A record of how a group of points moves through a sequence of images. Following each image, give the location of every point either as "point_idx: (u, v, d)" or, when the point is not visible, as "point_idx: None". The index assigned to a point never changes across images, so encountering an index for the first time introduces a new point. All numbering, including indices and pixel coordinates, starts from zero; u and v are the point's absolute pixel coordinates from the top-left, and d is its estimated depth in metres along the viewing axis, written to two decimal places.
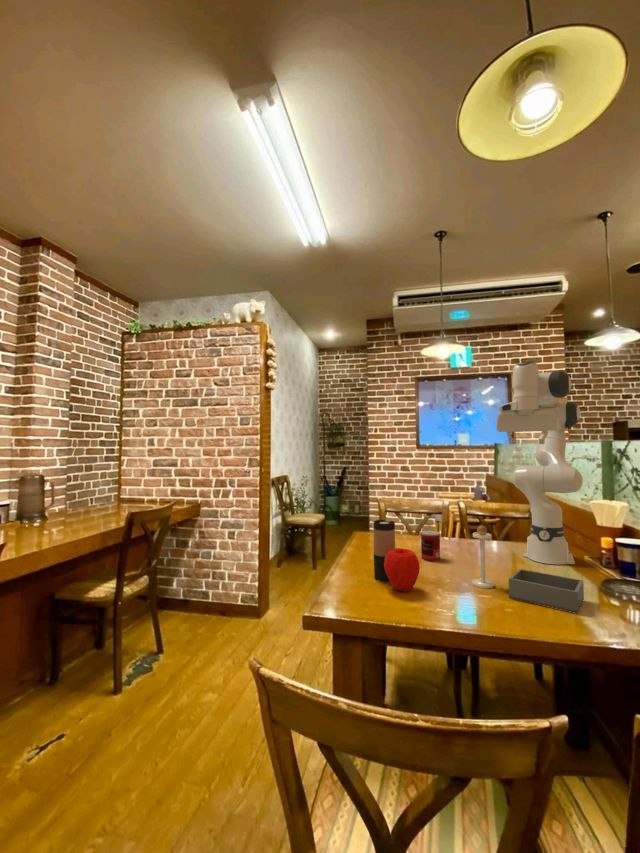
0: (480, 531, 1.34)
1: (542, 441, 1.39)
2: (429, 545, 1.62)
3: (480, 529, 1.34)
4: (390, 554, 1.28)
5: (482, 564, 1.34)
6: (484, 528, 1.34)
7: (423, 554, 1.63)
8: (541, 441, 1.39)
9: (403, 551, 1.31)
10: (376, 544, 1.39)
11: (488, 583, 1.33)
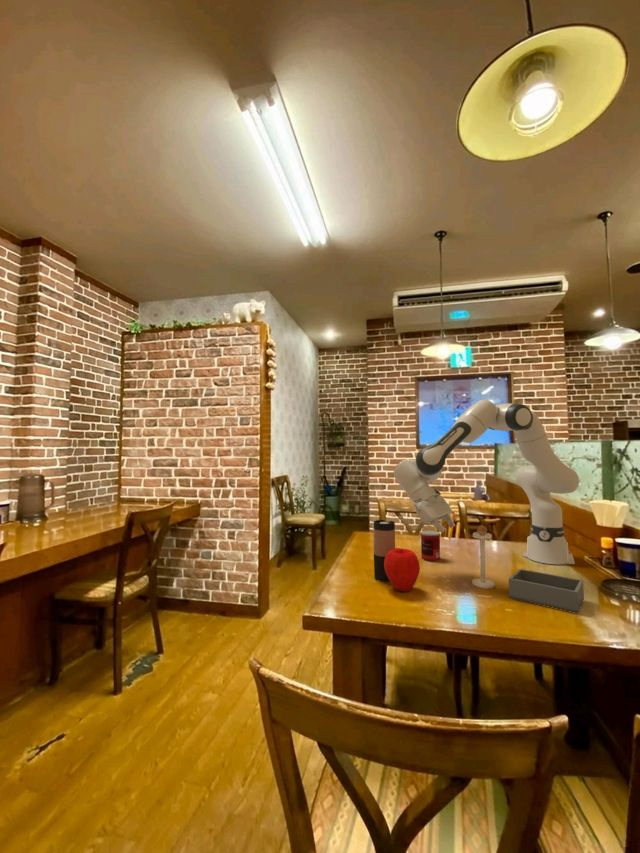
0: (480, 531, 1.34)
1: None
2: (429, 545, 1.62)
3: (480, 529, 1.34)
4: (390, 554, 1.28)
5: (482, 564, 1.34)
6: (484, 528, 1.34)
7: (423, 554, 1.63)
8: None
9: (403, 551, 1.31)
10: (376, 544, 1.39)
11: (488, 583, 1.33)
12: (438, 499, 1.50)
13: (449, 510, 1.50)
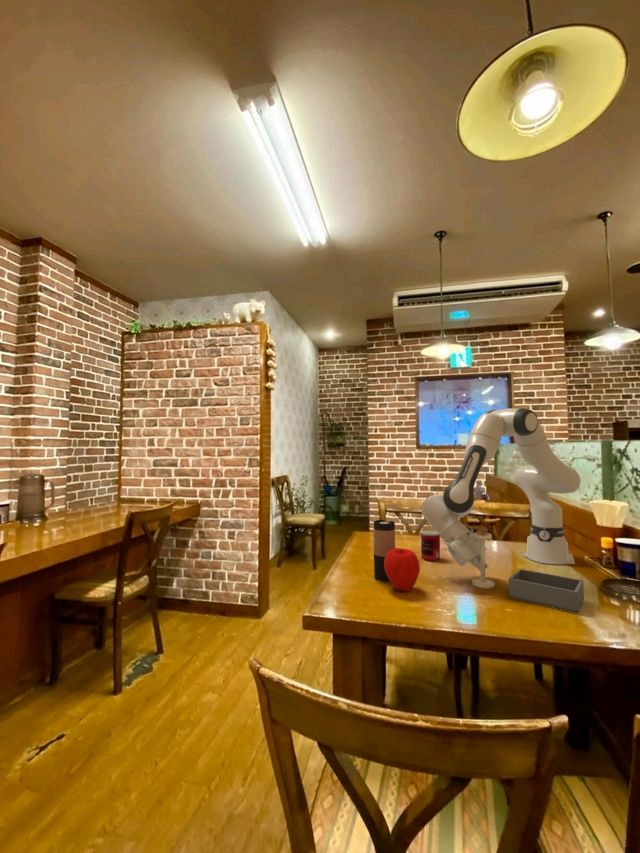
0: (480, 532, 1.33)
1: None
2: (429, 545, 1.62)
3: (481, 530, 1.33)
4: (390, 554, 1.28)
5: None
6: (484, 529, 1.33)
7: (423, 554, 1.63)
8: None
9: (403, 551, 1.31)
10: (376, 544, 1.39)
11: (488, 583, 1.33)
12: (471, 536, 1.42)
13: None
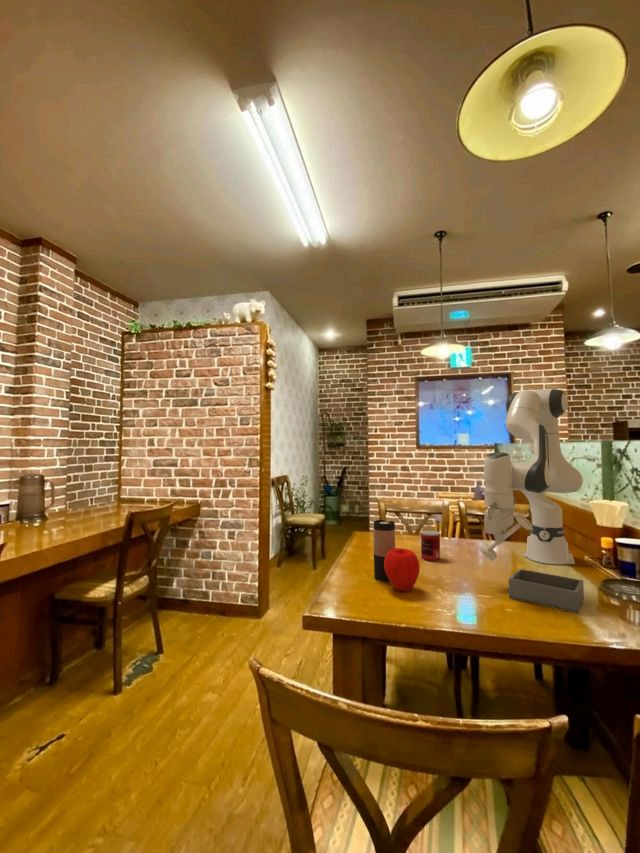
0: None
1: None
2: (429, 545, 1.62)
3: None
4: (390, 554, 1.28)
5: None
6: None
7: (423, 554, 1.63)
8: None
9: (403, 551, 1.31)
10: (376, 544, 1.39)
11: (492, 554, 1.32)
12: (510, 509, 1.34)
13: (511, 523, 1.36)
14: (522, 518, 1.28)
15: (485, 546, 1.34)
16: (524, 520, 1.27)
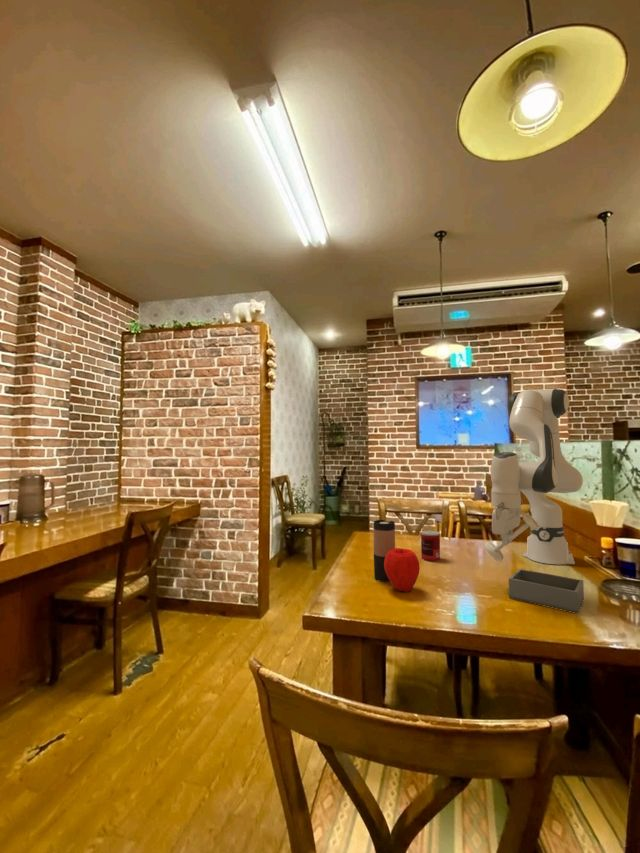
0: None
1: None
2: (429, 545, 1.62)
3: None
4: (390, 554, 1.28)
5: None
6: None
7: (423, 554, 1.63)
8: None
9: (403, 551, 1.31)
10: (376, 544, 1.39)
11: (498, 555, 1.31)
12: (517, 509, 1.32)
13: (518, 524, 1.35)
14: (530, 518, 1.26)
15: (492, 547, 1.33)
16: (532, 520, 1.26)
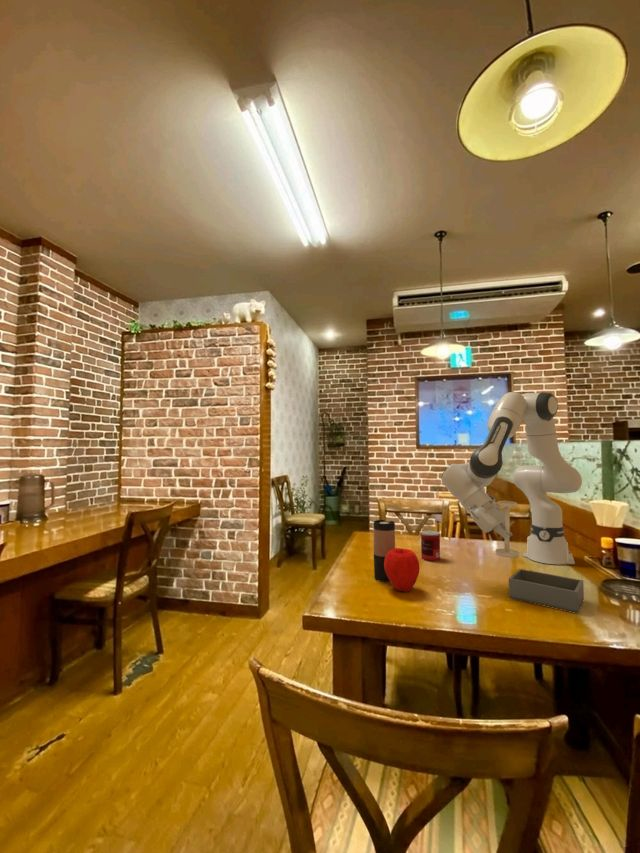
0: None
1: None
2: (429, 545, 1.62)
3: None
4: (390, 554, 1.28)
5: None
6: None
7: (423, 554, 1.63)
8: None
9: (403, 551, 1.31)
10: (376, 544, 1.39)
11: (512, 552, 1.28)
12: (493, 505, 1.37)
13: None
14: (504, 502, 1.31)
15: (502, 550, 1.30)
16: (507, 502, 1.31)
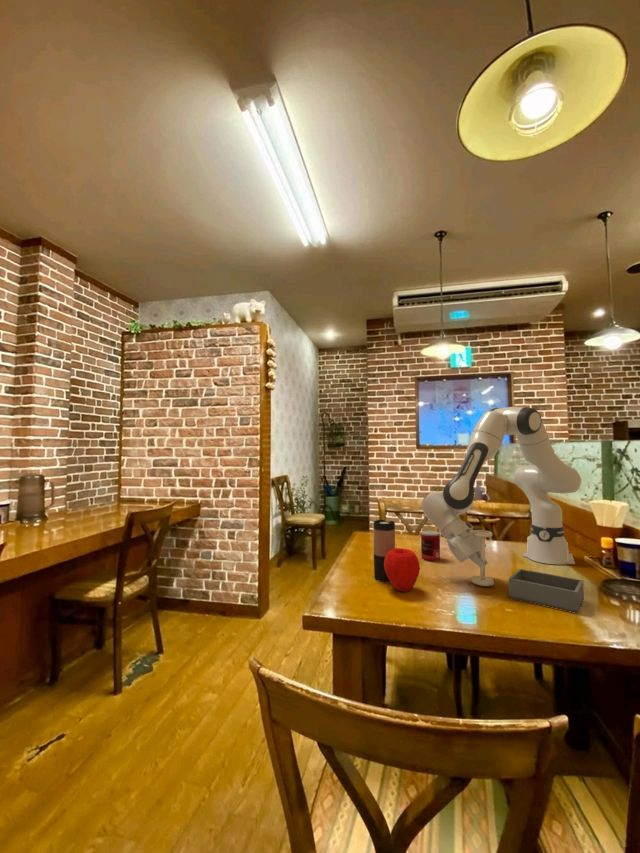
0: None
1: None
2: (429, 545, 1.62)
3: None
4: (390, 554, 1.28)
5: None
6: None
7: (423, 554, 1.63)
8: None
9: (403, 551, 1.31)
10: (376, 544, 1.39)
11: (488, 581, 1.33)
12: (471, 533, 1.42)
13: None
14: (480, 531, 1.36)
15: (478, 578, 1.35)
16: (483, 532, 1.35)
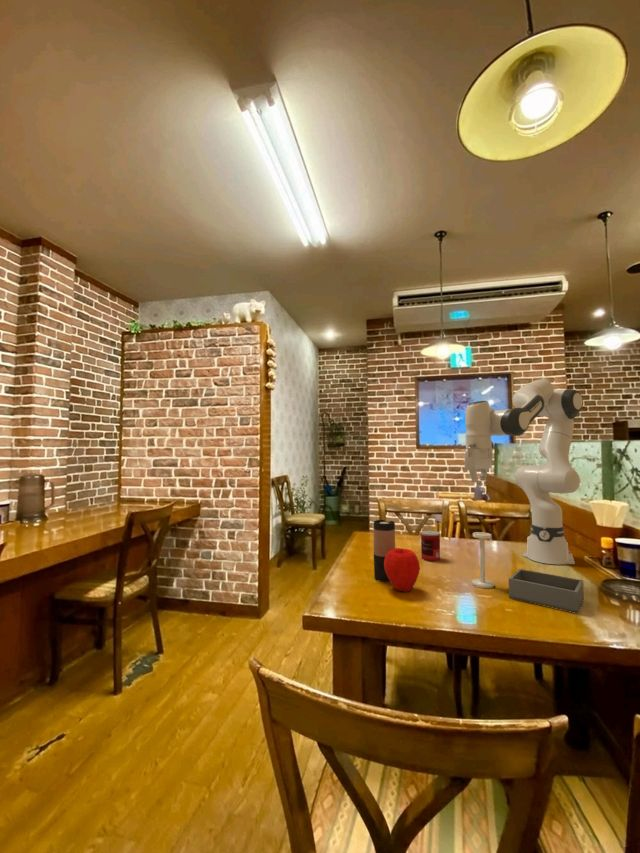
0: None
1: None
2: (429, 545, 1.62)
3: None
4: (390, 554, 1.28)
5: (482, 564, 1.34)
6: None
7: (423, 554, 1.63)
8: None
9: (403, 551, 1.31)
10: (376, 544, 1.39)
11: (488, 583, 1.33)
12: (488, 452, 1.48)
13: (490, 465, 1.51)
14: (480, 534, 1.36)
15: (478, 581, 1.35)
16: (482, 534, 1.36)
